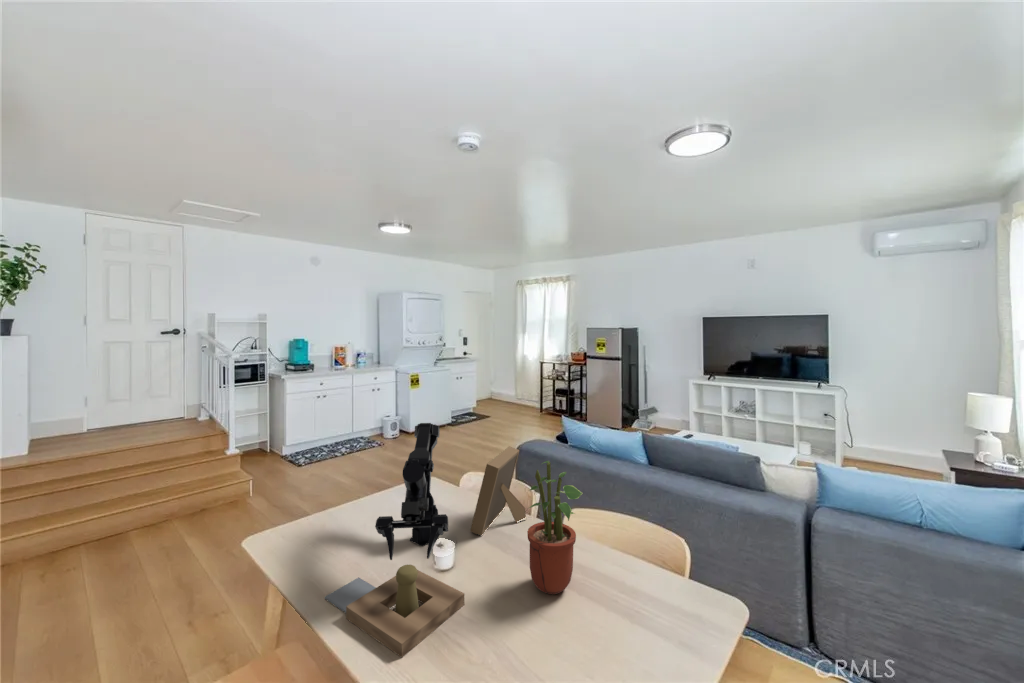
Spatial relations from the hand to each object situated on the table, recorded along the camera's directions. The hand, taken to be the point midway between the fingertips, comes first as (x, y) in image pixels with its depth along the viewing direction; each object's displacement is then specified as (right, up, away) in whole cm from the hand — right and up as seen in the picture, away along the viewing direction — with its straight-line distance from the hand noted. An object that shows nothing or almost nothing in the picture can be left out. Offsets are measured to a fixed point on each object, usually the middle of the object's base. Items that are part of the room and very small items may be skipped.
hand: (409, 558), depth 103 cm
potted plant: (+37, -11, +9) cm, 39 cm away
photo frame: (+23, -10, +42) cm, 49 cm away
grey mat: (-15, -11, +2) cm, 19 cm away
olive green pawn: (0, -11, -4) cm, 12 cm away
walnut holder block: (0, -11, -4) cm, 12 cm away
